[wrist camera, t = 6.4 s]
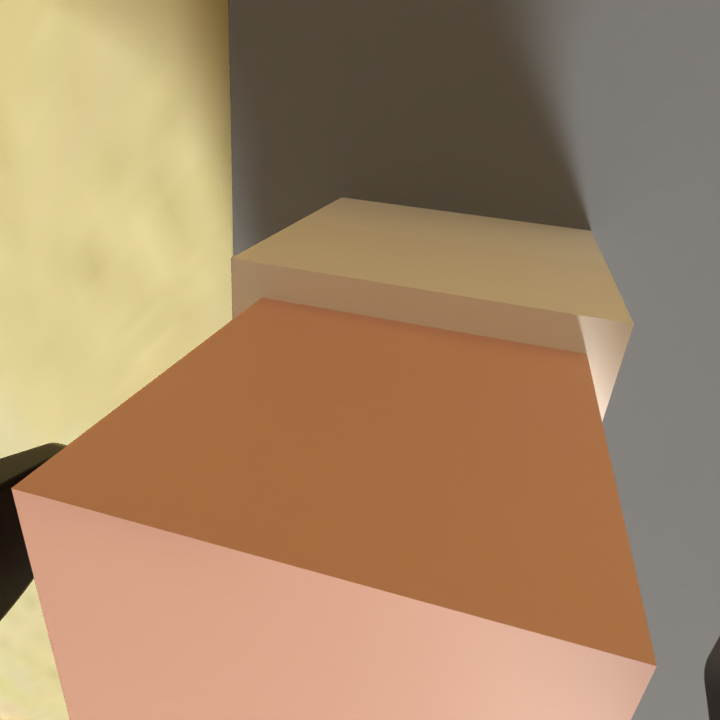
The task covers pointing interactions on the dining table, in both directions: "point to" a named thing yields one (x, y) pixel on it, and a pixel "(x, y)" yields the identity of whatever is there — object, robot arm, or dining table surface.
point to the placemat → (534, 211)
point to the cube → (342, 534)
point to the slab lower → (461, 229)
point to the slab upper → (443, 289)
